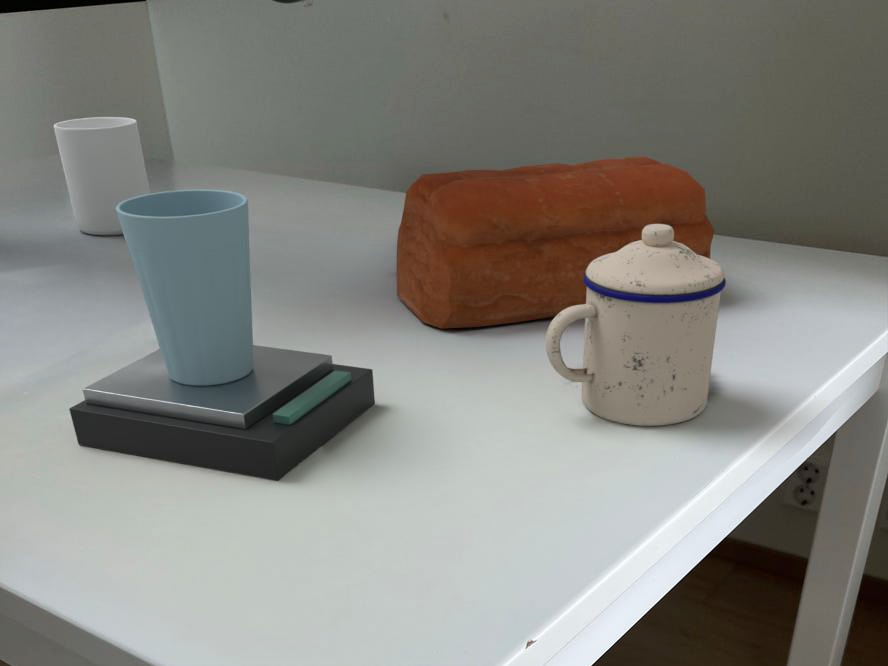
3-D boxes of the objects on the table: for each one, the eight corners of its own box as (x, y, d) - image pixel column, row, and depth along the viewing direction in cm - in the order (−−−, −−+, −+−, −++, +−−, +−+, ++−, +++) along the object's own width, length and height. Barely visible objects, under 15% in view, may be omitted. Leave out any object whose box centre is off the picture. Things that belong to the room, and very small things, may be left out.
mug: (159, 210, 121) (141, 111, 115) (153, 233, 111) (133, 126, 105) (85, 214, 119) (63, 114, 113) (73, 238, 110) (47, 130, 104)
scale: (78, 444, 65) (64, 393, 63) (195, 377, 75) (187, 330, 73) (278, 480, 60) (270, 426, 58) (375, 403, 70) (371, 354, 68)
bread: (725, 303, 88) (742, 172, 82) (437, 340, 81) (432, 200, 75) (643, 260, 100) (652, 143, 94) (386, 288, 93) (378, 164, 87)
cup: (242, 396, 62) (214, 218, 56) (129, 389, 63) (90, 214, 57) (287, 355, 68) (266, 190, 62) (183, 349, 69) (152, 187, 63)
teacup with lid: (667, 372, 74) (684, 205, 67) (735, 417, 67) (761, 235, 61) (519, 396, 71) (521, 222, 64) (574, 445, 64) (583, 256, 57)
